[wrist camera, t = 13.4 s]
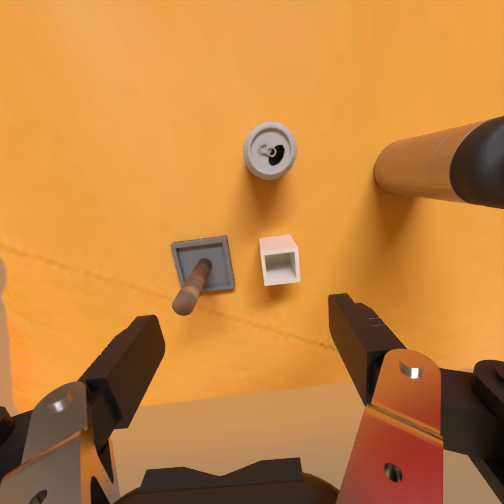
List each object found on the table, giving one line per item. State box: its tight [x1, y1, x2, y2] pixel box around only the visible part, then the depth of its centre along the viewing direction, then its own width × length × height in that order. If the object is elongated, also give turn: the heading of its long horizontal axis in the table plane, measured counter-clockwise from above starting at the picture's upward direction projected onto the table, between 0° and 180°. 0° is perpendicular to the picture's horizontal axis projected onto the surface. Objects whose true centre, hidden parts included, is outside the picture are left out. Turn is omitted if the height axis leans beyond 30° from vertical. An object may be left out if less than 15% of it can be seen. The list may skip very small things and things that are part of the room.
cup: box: [259, 234, 300, 286], centre depth 43 cm, size 6×6×9 cm
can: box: [243, 122, 297, 180], centre depth 36 cm, size 8×8×12 cm
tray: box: [171, 236, 235, 292], centre depth 48 cm, size 11×11×2 cm
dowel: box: [172, 258, 212, 316], centre depth 40 cm, size 3×3×16 cm
